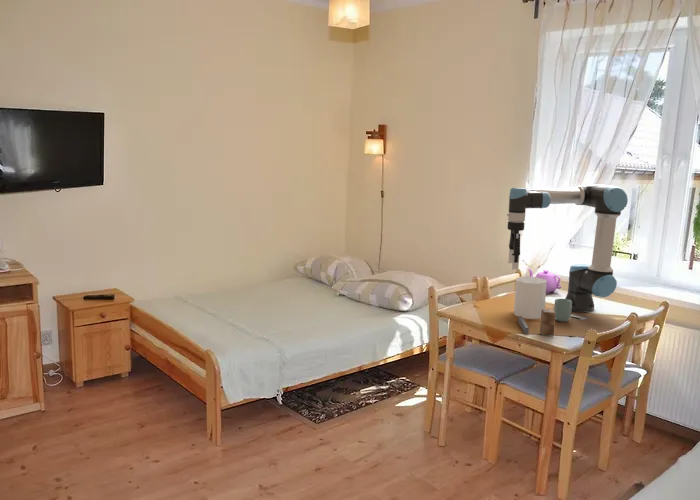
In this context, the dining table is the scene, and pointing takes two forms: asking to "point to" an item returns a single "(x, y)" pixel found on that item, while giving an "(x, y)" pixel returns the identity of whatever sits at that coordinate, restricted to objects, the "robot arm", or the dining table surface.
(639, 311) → the dining table surface
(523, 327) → the rail
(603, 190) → the robot arm
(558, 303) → the cup
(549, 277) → the teapot
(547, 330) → the brown and green block
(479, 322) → the dining table surface
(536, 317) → the container
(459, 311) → the dining table surface
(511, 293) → the dining table surface
